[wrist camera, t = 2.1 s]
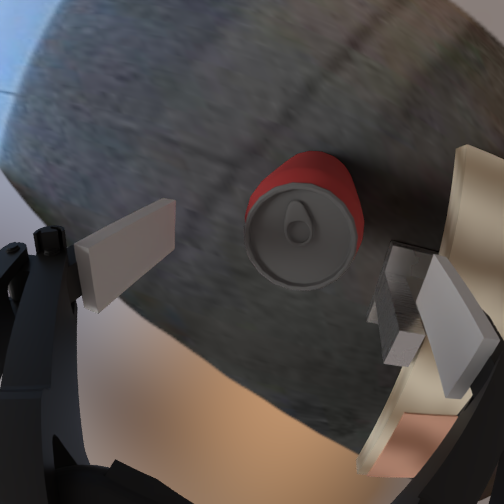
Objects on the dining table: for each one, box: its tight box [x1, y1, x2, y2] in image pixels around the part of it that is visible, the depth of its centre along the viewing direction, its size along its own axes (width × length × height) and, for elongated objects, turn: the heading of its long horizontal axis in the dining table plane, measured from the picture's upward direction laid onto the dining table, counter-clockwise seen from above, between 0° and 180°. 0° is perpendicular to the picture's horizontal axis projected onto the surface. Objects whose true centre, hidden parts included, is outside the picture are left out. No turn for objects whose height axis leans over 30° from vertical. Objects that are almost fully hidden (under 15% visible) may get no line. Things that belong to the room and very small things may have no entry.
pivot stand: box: [366, 241, 439, 367], centre depth 21 cm, size 8×17×10 cm, turn 83°
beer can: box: [244, 151, 364, 291], centre depth 20 cm, size 7×7×12 cm
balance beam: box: [356, 145, 504, 478], centre depth 18 cm, size 28×12×2 cm, turn 173°
